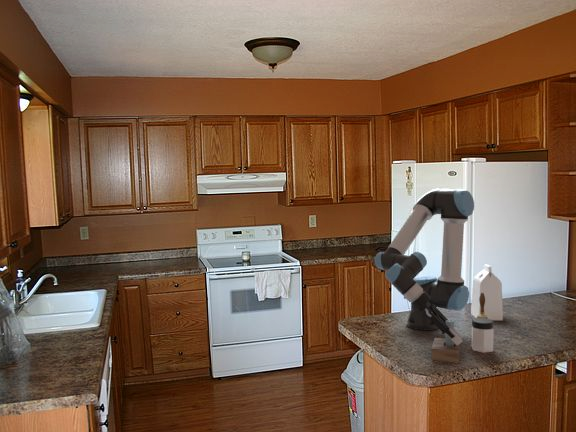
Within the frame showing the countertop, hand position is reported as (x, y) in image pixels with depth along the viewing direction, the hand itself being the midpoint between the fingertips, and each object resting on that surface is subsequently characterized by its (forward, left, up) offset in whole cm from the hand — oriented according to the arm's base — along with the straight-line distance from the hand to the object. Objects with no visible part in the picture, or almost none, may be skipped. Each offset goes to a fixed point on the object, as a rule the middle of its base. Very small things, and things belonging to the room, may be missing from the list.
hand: (459, 341), depth 204 cm
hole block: (0, -5, -6) cm, 8 cm away
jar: (-12, +8, -6) cm, 16 cm away
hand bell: (-45, +8, -7) cm, 46 cm away
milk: (-63, +10, -7) cm, 64 cm away
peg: (0, -4, -6) cm, 7 cm away
